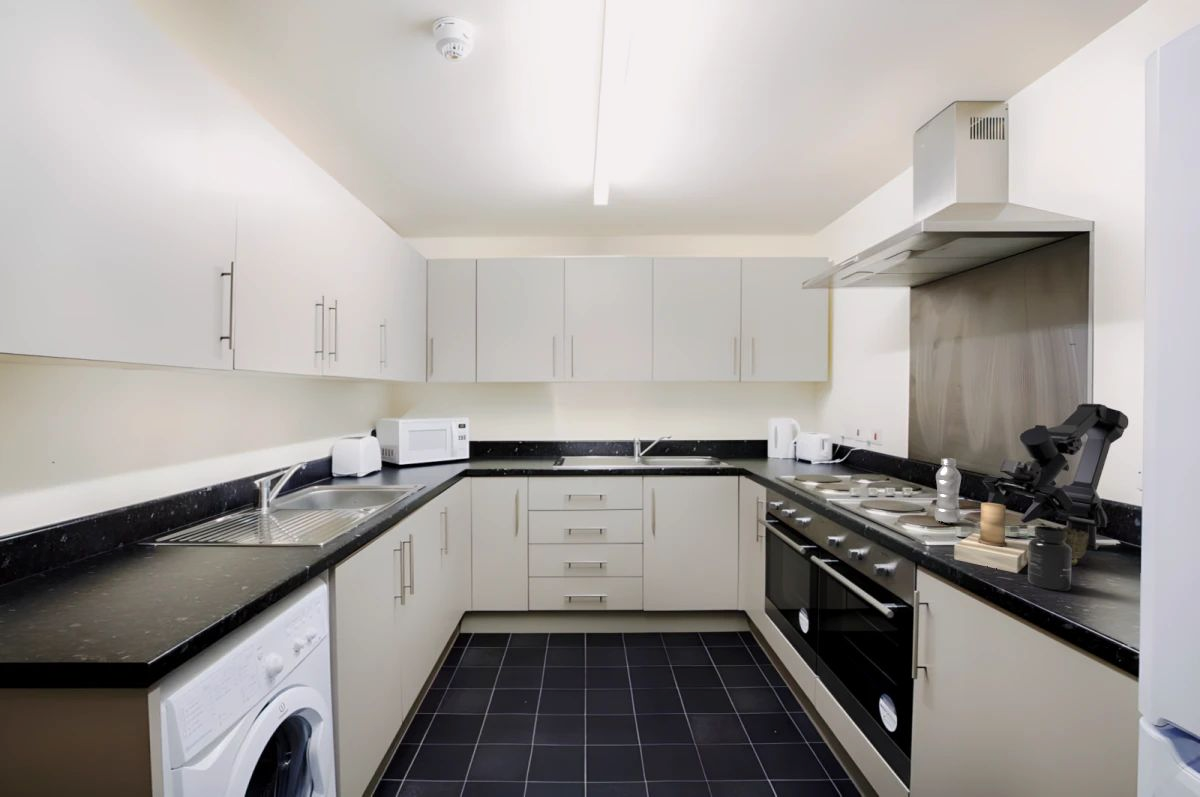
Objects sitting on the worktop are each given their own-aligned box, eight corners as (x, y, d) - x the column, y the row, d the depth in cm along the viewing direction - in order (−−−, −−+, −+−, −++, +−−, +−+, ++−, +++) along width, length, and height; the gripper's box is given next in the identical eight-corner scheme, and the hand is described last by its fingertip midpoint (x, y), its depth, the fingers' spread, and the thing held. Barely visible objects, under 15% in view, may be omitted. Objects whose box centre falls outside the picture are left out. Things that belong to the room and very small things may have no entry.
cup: (1070, 558, 125) (1071, 526, 124) (1097, 569, 117) (1098, 534, 117) (1038, 557, 125) (1038, 525, 125) (1062, 568, 118) (1062, 533, 118)
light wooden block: (973, 546, 134) (973, 533, 134) (1032, 558, 125) (1032, 544, 125) (954, 559, 123) (954, 544, 123) (1017, 573, 114) (1017, 557, 114)
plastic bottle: (930, 520, 161) (931, 457, 160) (953, 521, 160) (954, 458, 160) (940, 525, 154) (942, 460, 154) (965, 526, 153) (966, 460, 153)
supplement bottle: (1074, 594, 102) (1076, 535, 102) (1030, 587, 106) (1032, 530, 106) (1066, 583, 108) (1067, 527, 108) (1024, 577, 112) (1026, 522, 112)
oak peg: (981, 551, 129) (982, 501, 129) (1009, 557, 125) (1010, 505, 124) (974, 556, 125) (976, 504, 125) (1003, 562, 121) (1004, 508, 121)
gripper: (988, 444, 135) (952, 487, 134) (1063, 453, 117) (1022, 503, 115) (1013, 473, 137) (977, 515, 135) (1091, 486, 118) (1050, 536, 117)
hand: (1004, 516), depth 126 cm, fingers open, 9 cm apart
